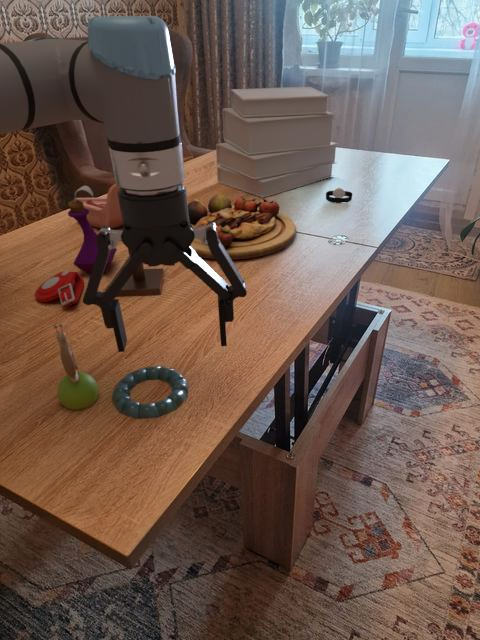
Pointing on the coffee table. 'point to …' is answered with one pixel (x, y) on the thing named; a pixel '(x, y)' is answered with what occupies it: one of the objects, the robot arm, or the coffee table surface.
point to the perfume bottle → (86, 237)
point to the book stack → (275, 140)
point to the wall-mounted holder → (104, 209)
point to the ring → (151, 409)
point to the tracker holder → (61, 288)
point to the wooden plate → (242, 226)
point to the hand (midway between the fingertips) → (173, 343)
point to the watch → (338, 195)
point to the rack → (143, 282)
